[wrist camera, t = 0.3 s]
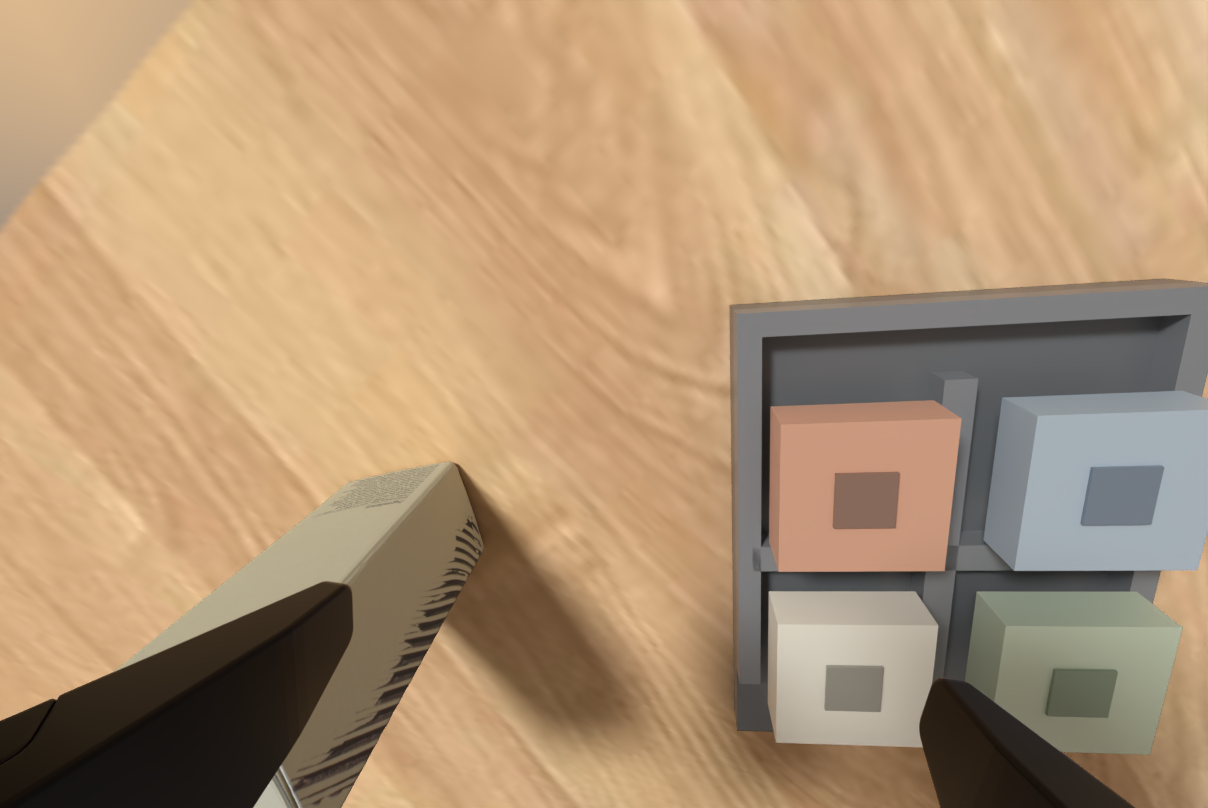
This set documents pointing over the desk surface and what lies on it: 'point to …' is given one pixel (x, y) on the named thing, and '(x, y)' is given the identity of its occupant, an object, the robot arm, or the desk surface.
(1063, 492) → the key slate
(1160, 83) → the desk surface
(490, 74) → the desk surface
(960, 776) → the robot arm
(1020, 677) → the key sage
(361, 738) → the box
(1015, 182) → the desk surface
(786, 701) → the key ivory
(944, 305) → the grey compartment tray
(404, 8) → the desk surface
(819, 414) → the key terracotta
